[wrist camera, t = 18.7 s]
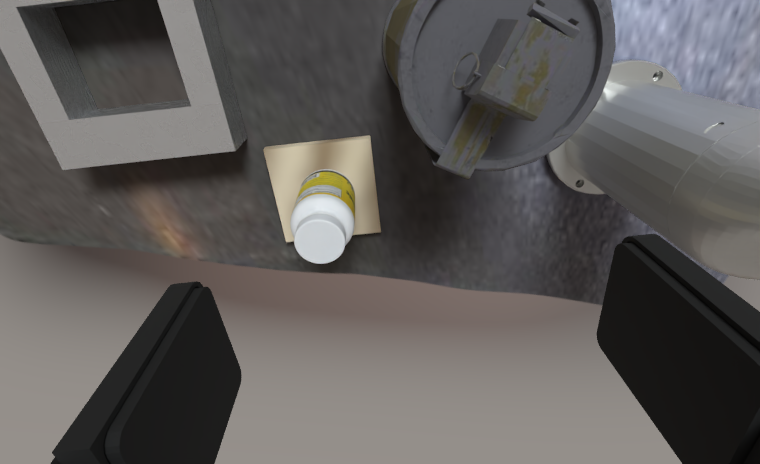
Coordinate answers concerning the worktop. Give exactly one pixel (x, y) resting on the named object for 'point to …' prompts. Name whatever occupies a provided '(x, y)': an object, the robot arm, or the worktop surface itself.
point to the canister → (497, 75)
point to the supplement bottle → (323, 216)
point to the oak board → (305, 158)
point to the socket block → (129, 123)
